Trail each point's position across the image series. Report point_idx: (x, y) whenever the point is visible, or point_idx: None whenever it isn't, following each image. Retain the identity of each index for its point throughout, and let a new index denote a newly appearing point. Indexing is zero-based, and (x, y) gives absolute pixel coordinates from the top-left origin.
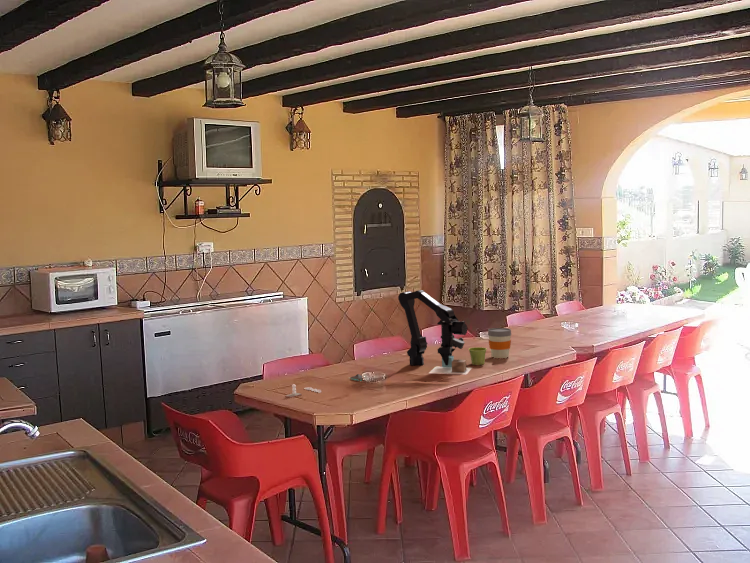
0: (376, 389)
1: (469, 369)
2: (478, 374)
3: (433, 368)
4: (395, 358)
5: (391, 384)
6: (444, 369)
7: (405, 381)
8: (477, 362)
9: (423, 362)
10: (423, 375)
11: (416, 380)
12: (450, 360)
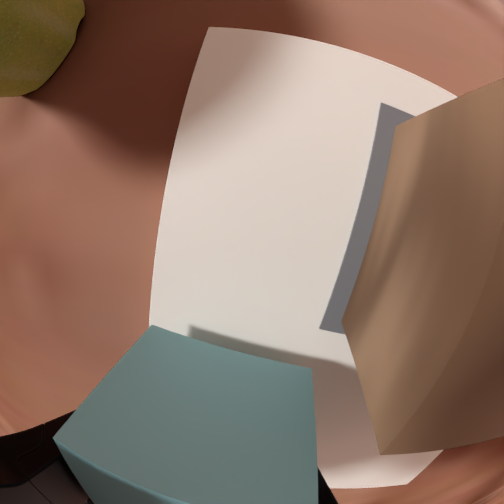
0: (492, 497)
1: (360, 72)
2: (486, 41)
3: None
4: None
5: (471, 500)
6: None
7: (463, 492)
8: (58, 10)
9: None
10: (394, 487)
11: (476, 472)
12: (306, 476)
